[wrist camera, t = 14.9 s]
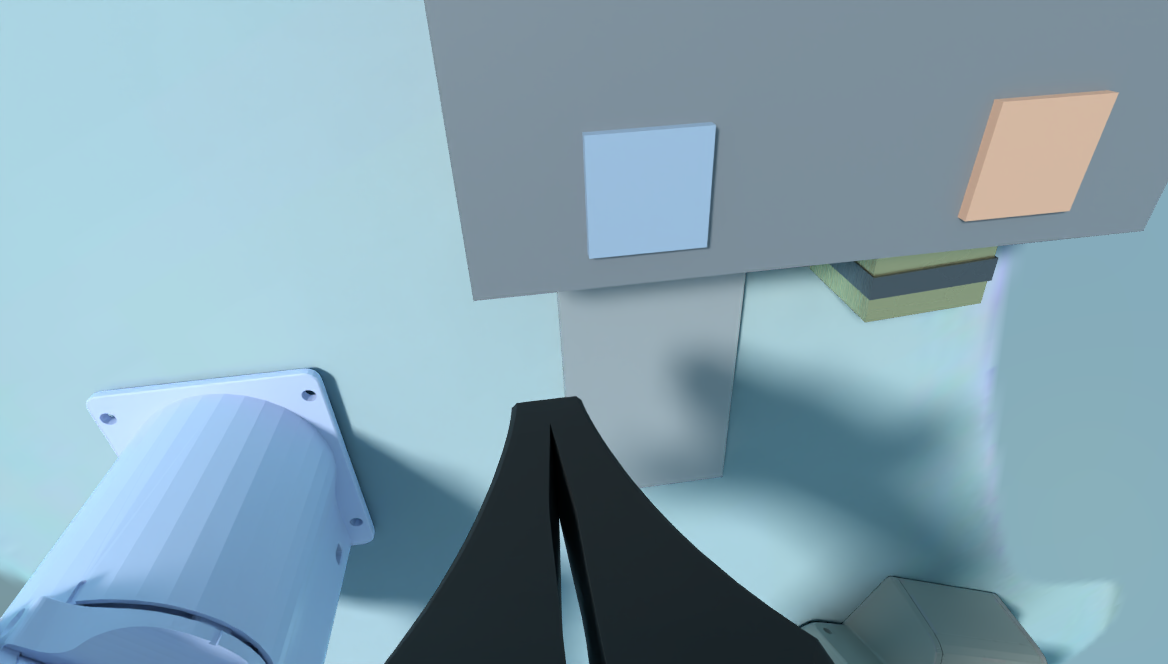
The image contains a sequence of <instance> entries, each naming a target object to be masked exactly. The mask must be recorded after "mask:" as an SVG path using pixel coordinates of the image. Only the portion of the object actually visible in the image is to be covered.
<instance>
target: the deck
mask: <svg viewBox="0 0 1168 664" xmlns="http://www.w3.org/2000/svg"><path fill="white" fill-rule="evenodd" d="M745 276H746V272H745V273H736V274H726V275H717V276H707V277H697V278H688V279H678V280H669V281H659V282H650V283H640V284H630V285H621V286H611V287H602V288H592V289H583V290H573V291H563V292H557V297H558V310H559V323H560V336H561V349H562V362H563V375H564V387H565V397H572V396H577V397H578V398H580V399H581V400H582V402H583V404H584V407H585V409H586V411H587V413H588V415H589V417H590V419H591V420H592V422H593V424H594V426H595V427H596V429H597V430H598V432H599V434H600V435H601V437H602V439H603V440H604V442H605V443H606V445H607V446H608V448H609V449H610V450H611V452H612V453H613V455H614V456H615V457H616V459H617V460H618V461H619V463H620V464H621V466H622V467H623V468H624V470H625V471H626V472H627V474H628V475H629V476H630V477H631V479H632V480H633V481H634V482H635V484H636V485H637V486H638V487H639V488H643V487H651V486H658V485H665V484H673V483H680V482H687V481H695V480H702V479H709V478H717V477H722V475H723V467H724V458H725V449H726V441H727V432H728V423H729V414H730V406H731V397H732V388H733V380H734V371H735V362H736V354H737V345H738V336H739V328H740V319H741V310H742V302H743V293H744V284H745Z"/></svg>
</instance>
